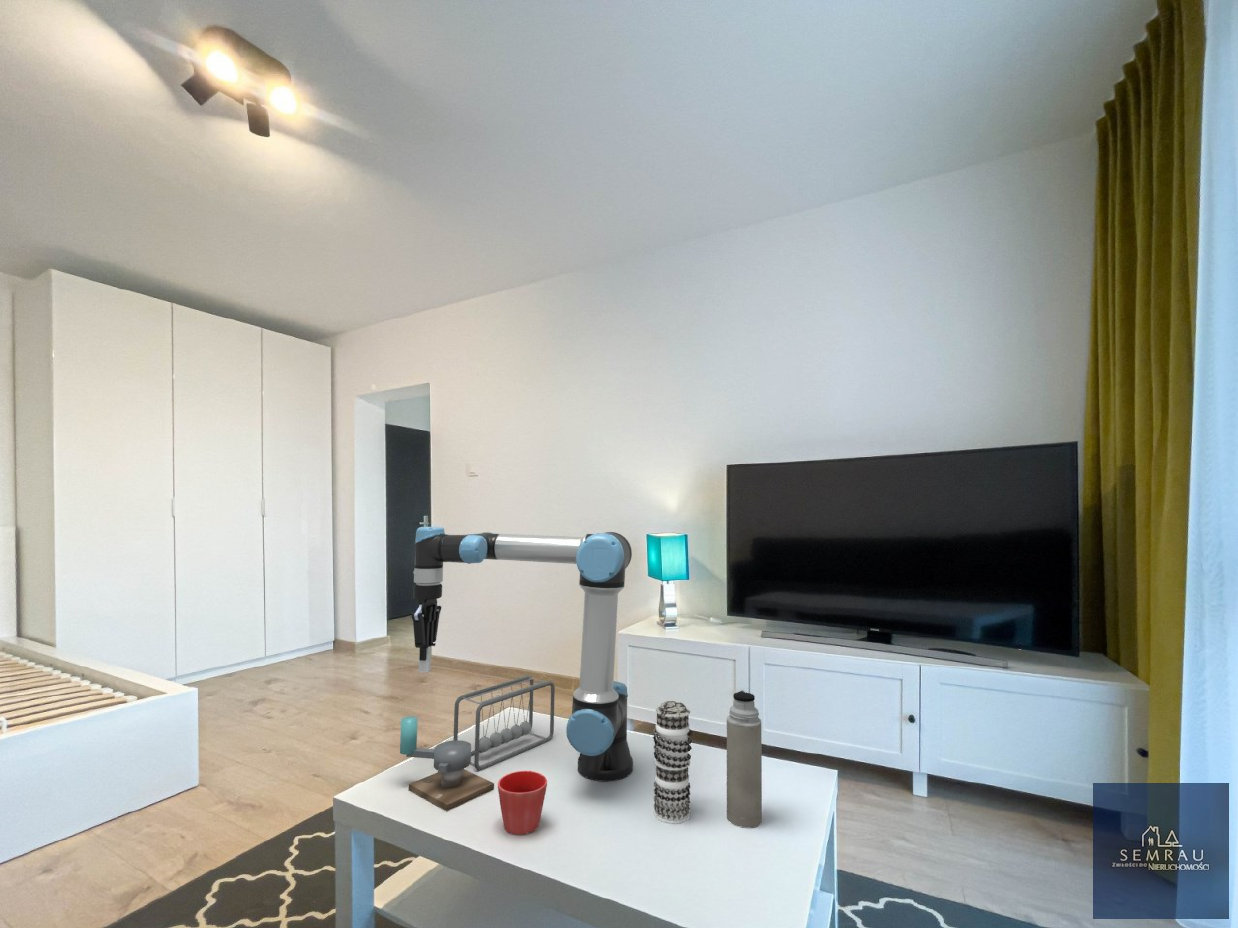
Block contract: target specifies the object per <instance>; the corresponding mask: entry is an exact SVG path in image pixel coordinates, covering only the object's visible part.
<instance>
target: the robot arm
mask: <svg viewBox="0 0 1238 928" xmlns="http://www.w3.org/2000/svg"><path fill="white" fill-rule="evenodd" d="M632 556H633V551H632V547H631V543H630V542H629V540H628V538H626V537H625V536H623V534H621V533H619V532H614V531H605V532H596V533H586V534H585V535H584V536H583V537H581V536H566V535H565V536H564V535H563V536H560V535H540V534H539V535H538V534H536V535H535V534H515V533H513V534H512V533H493V532H486V531H485V532H482V533H481V532H480V533H471V534H469V533H468V534H447V533H446V534H445V528H444V527H442V526H420V527H418V528H417V529H416V532H415V541H414V566H413V567H414V568H413V569H414V570H413V572H412V574H413V583H415V584H414V585H412V586H413V587H412V588H413V589H412V590H413V591H412V592H413V593H412V598H413V599H414V600H417V604H416V611H415V612H411V619H412V626H413V637H414V647H415V648H417V649H419V651H418V653H419V654H418V655H419V656H418V673H423V674H425V673H427V674H428V673H430V672H432V671H431V670H432V669H431V668H432V647H436V645H437V644H436V642H437V638H438V637H437V636H438V629H439V621H440V615H441V611H442V606H441V605H438V599H440V598H443V597H442V596H443V584H442V582H443V581H444V580H443V579H444V577H443V576H444V574H443V573H444V563H459V564H460V563H461V564H469V565H471V564H481V563H482V562H483V561H484V560H491V561H492V560H493V561H494V560H497V561H498V560H499V561H500V560H501V561H515V562H516V561H517V562H519V561H520V562H534V563H535V562H537V563H551V564H552V563H553V564H568V565H569V564H572V565H576V567H577V570H578V571H579V583H578V585H579V587H580V588H581V589H582V591H584V597H583V598H584V601H583V619H582V635H581V651H580V671H579V672H580V673H579V687H577V688H576V689H575V690H574V691H573V694H572V704H571V705H572V706H571V715H570V716H569V718H568V720H567V723H566V729H565V731H566V733H565V734H566V738H567V740H568V743H569V744H570V746H572V748H573V749H574V750H575V752H578V753H579V756H578V759H577V772H578V774H580V775H581V776H582V777H584V778H586V779H589V780H591V781H592V780H593V781H598V782H612V781H619V780H622V779H624V778H627V777H628V776H630V775H631V774H632V772H633V770H634V768H633V767H634V760H633V757H632V754H631V750H630V747H629V743H628V737H627V736H628V698H629V694H628V687H627V685H626V684H625V683H623V682H620V681H614V677H615V662H616V661H615V659H616V641H617V637H616V636H617V622H618V621H617V620H618V602H619V593H620V592H621V591H623V589H624V588H625V581H626V579H625V578H626V569H627V568H628V566H629V565H630V564H631V560H632Z"/></svg>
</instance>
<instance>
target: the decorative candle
mask: <svg viewBox="0 0 1238 928" xmlns="http://www.w3.org/2000/svg"><path fill="white" fill-rule="evenodd" d="M655 712H656V723H655V726H654V727H653V730H652V733H653V737H652V739H653V743H654V745H653V749H654V752H653V758H654V761H653V762H654V764H655V765H656V768H655V769H656V770H655V772H656V773H655V781H653V786H654V789H653V792H654V793H653V794H654V796H653V802H654V804H653V808H654V811H653V815H654V817H655V818H656V819H657V820H658V821H660V822H663V823H666V824H672V825H677V824H678V825H679V824H683V823H685V822H688V820H689V819H690V817H691V813H690V810H691V807H690V805H691V804H690V803H691V800H690V799H691V798H690V795H691V790H690V788H691V783H690V775H689V767H690V765H691V758H692V755H691V754H690V753H689V752H690V751H691V750H692V746H691V744H692V741H693V740H692V739H691V737H690V736H692V734H693V731H692V729H690V723H689V715H690V714H691V710H690V709H689V708H687V706H686V705H685V704H684V702H683V703H682V702H680V701H677V700H675V701H674V700H668V701H664V702H661V703H660V705H659V706H658V707H657V708H656V709H655Z"/></svg>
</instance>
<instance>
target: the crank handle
mask: <svg viewBox="0 0 1238 928" xmlns="http://www.w3.org/2000/svg"><path fill="white" fill-rule="evenodd" d="M418 721H419V720H418V716H413V715H408V716H404V717H402V718H401V719H400V735H399V736H400V740H399V741H400V742H399V753H400V754H401V755H406V758H417V759H428V760H431V759H432V760H433V768H434V770H436V771H437V772H438V773H446V772H454V771H459V770H462V769H467V768H468V767H469V766H470V765H471V764H470V763H471V762H472V756H471V752H472V744H471V743H470V742H468V741H465V740H460V739H458V740H454V741H453V740H447V741H443V742H441V743H439V744H437V745H436V746H435V747H434V748H424V747H423V748H421V747H417V746H418V745H417V744H418Z"/></svg>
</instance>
